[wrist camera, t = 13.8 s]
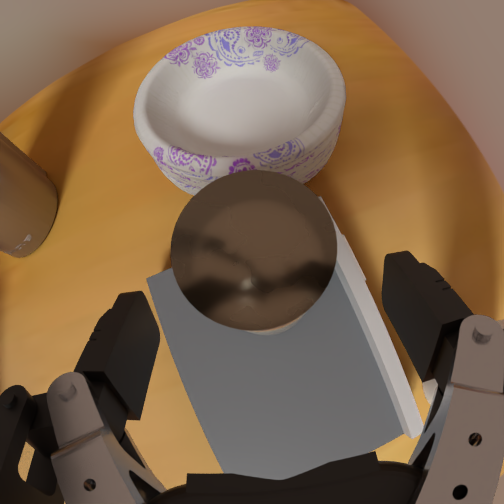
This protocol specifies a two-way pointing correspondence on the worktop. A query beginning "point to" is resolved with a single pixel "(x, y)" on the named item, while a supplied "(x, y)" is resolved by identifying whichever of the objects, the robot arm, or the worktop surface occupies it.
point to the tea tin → (254, 251)
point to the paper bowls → (241, 107)
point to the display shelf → (292, 378)
